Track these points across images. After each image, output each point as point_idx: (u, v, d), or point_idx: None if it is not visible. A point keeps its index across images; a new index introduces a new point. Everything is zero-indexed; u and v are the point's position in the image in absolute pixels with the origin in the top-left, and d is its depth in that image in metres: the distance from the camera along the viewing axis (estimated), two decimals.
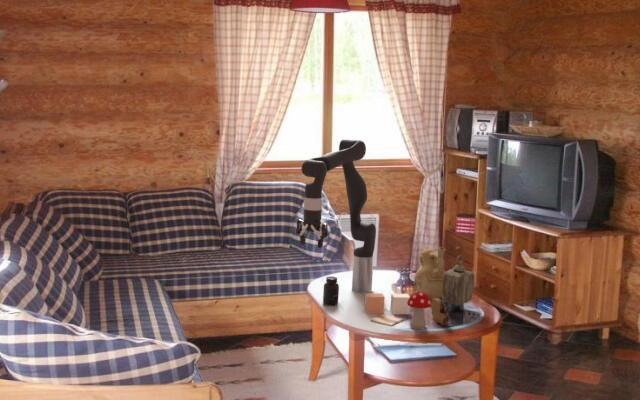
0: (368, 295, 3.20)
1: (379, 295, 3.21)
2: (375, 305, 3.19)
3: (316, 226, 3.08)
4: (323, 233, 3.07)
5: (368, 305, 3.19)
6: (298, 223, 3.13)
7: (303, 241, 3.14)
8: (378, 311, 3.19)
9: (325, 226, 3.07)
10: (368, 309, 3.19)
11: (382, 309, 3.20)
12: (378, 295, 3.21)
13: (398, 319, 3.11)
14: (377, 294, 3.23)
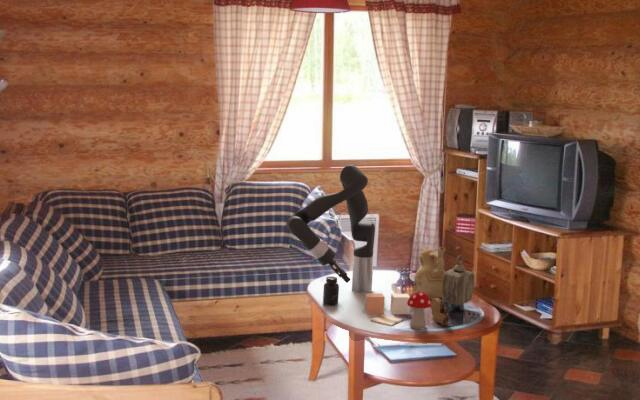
0: (368, 295, 3.20)
1: (379, 295, 3.21)
2: (375, 305, 3.19)
3: None
4: None
5: (368, 305, 3.19)
6: (337, 265, 3.10)
7: None
8: (378, 311, 3.19)
9: None
10: (368, 309, 3.19)
11: (382, 309, 3.20)
12: (378, 295, 3.21)
13: (398, 319, 3.11)
14: (377, 294, 3.23)
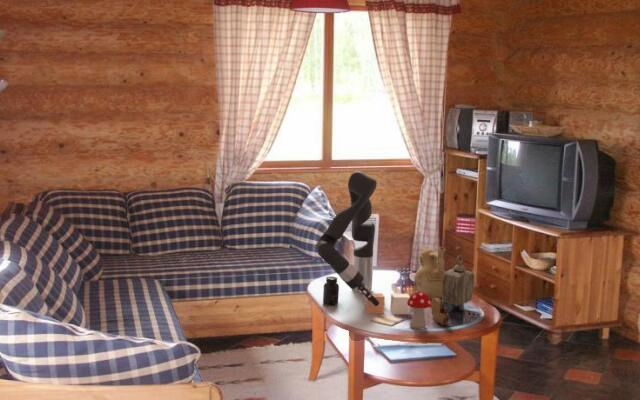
0: None
1: (379, 295, 3.21)
2: None
3: None
4: None
5: (368, 305, 3.19)
6: (367, 290, 3.14)
7: None
8: (378, 311, 3.19)
9: None
10: (368, 309, 3.19)
11: (382, 309, 3.20)
12: (378, 295, 3.21)
13: (398, 319, 3.11)
14: (377, 294, 3.23)
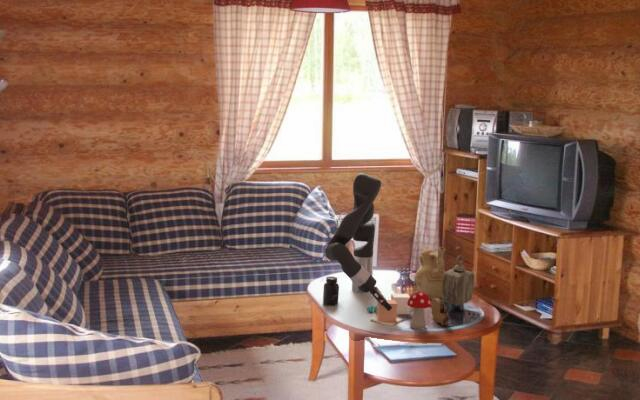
0: None
1: (391, 302, 3.10)
2: (387, 312, 3.08)
3: None
4: None
5: (380, 312, 3.07)
6: (379, 293, 3.02)
7: None
8: (390, 318, 3.08)
9: None
10: (380, 316, 3.08)
11: (395, 316, 3.08)
12: (390, 302, 3.10)
13: (398, 319, 3.11)
14: (389, 300, 3.11)
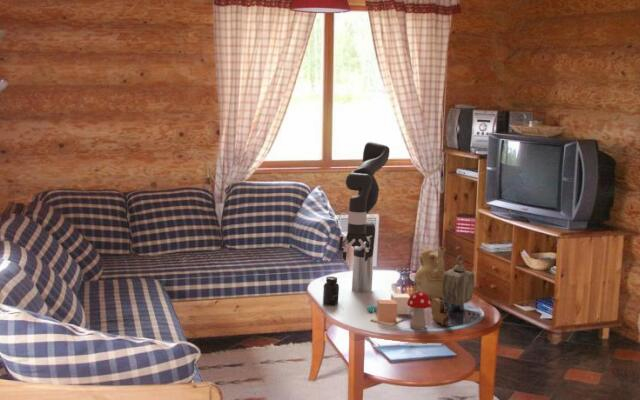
0: (380, 302, 3.09)
1: (391, 302, 3.10)
2: (387, 312, 3.08)
3: None
4: None
5: (380, 312, 3.07)
6: None
7: (364, 257, 3.06)
8: (390, 318, 3.08)
9: (339, 237, 3.03)
10: (380, 316, 3.08)
11: (395, 316, 3.08)
12: (390, 302, 3.10)
13: (398, 319, 3.11)
14: (389, 300, 3.11)
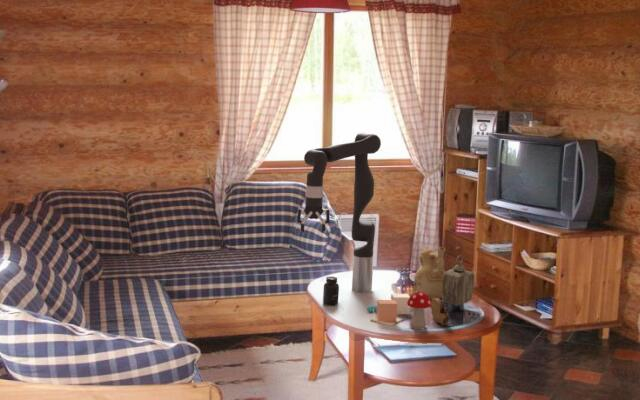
0: (380, 302, 3.09)
1: (391, 302, 3.10)
2: (387, 312, 3.08)
3: None
4: None
5: (380, 312, 3.07)
6: None
7: (321, 229, 3.27)
8: (390, 318, 3.08)
9: (298, 210, 3.25)
10: (380, 316, 3.08)
11: (395, 316, 3.08)
12: (390, 302, 3.10)
13: (398, 319, 3.11)
14: (389, 300, 3.11)
